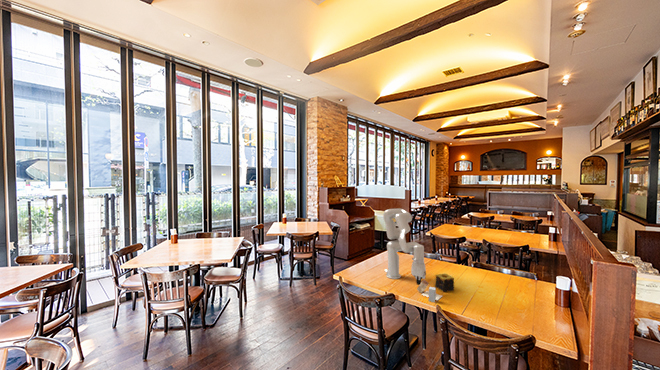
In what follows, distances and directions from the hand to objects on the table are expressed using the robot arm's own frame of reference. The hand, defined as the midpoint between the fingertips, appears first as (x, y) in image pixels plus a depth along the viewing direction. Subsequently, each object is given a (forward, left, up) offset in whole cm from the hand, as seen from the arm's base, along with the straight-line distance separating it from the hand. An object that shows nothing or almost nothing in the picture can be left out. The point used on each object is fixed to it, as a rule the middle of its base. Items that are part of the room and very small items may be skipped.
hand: (418, 284), depth 200 cm
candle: (+12, +19, -6) cm, 23 cm away
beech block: (+1, 0, -5) cm, 5 cm away
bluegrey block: (+14, -7, -6) cm, 17 cm away
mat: (+10, 0, -6) cm, 12 cm away
